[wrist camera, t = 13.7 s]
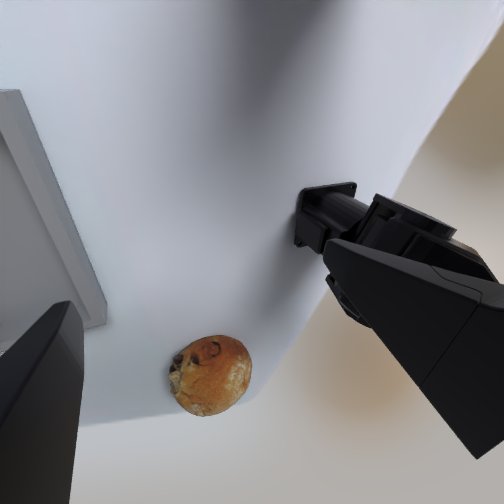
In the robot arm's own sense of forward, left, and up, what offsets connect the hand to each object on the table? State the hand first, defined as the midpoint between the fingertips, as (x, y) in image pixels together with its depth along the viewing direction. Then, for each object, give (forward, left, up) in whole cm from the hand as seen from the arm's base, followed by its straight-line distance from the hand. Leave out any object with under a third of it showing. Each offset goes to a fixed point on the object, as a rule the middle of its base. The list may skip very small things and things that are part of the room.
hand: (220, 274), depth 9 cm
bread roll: (-1, +24, -13) cm, 28 cm away
